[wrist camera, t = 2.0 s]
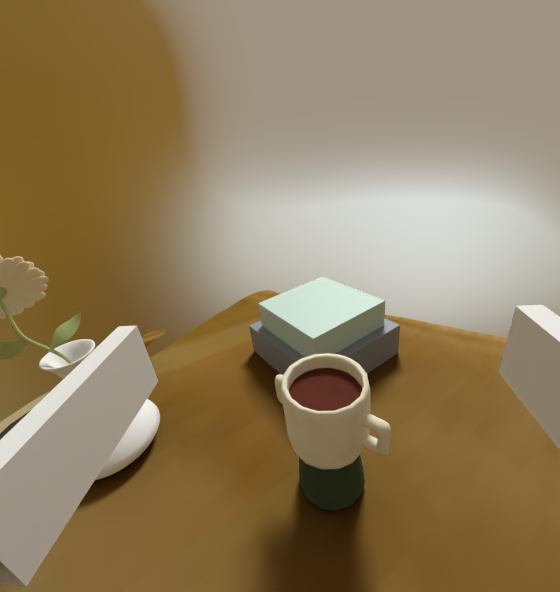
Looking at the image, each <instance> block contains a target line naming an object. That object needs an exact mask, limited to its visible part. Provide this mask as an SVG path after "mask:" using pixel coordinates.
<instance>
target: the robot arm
mask: <svg viewBox="0 0 560 592" xmlns="http://www.w3.org/2000/svg"><path fill="white" fill-rule="evenodd" d="M499 374H500V375H501V377H502V378H503V379H504V380H505V382H506V383H507V384H508V385H509V387H510V388H511V389H512V391H513V392H514V393H515V394H516V396H517V397H518V398H519V399H520V401H521V402H522V403H523V404H524V406H525V407H526V408H527V409H528V411H529V412H530V413H531V414H532V416H533V417H534V418H535V419H536V421H537V422H538V423H539V424H540V426H541V427H542V428H543V429H544V431H545V432H546V433H547V435H548V436H549V437H550V438H551V440H552V441H553V442H554V443H555V445H556V446H557V447H558V448H559V450H560V317H559V316H557V315H556V314H554V313H553V312H552V311H550V310H549V309H548V308H546V307H545V306H544V305H528V306H516V308H515V312H514V315H513V319H512V323H511V327H510V331H509V335H508V339H507V343H506V347H505V350H504V354H503V358H502V362H501V366H500V370H499ZM157 382H158V379H157V377H156V374H155V371H154V369H153V366H152V364H151V361H150V358H149V356H148V353H147V351H146V348H145V345H144V343H143V340H142V338H141V335H140V332H139V330H138V327H137V326H121V327H118V328H117V329H115V330H114V331H113V332H112V333H111V334H110V335H109V336H108V337H107V338H106V339H105V340H104V341H103V342H102V343H101V344H100V345H99V346H98V347H97V348H96V349H95V350H94V351H92V352H91V353H90V354H89V355H88V356H87V357H86V358H85V359H84V360H83V361H82V362H81V363H80V364H79V365H78V366H77V367H76V368H75V369H74V370H73V371H72V372H71V373H70V374H68V375H67V376H66V377H65V378H64V379H63V380H62V381H61V382H60V383H59V384H58V385H57V386H56V387H55V388H54V389H53V390H52V391H51V392H50V393H49V394H48V395H47V396H46V397H44V398H43V399H42V400H41V401H40V402H39V403H38V404H37V405H36V406H35V407H34V408H33V409H32V410H31V411H29V412H28V413H26V414H25V415H23V416H22V417H20V418H19V419H17V420H16V421H15V422H13V423H12V424H10V425H9V426H8V427H7V428H6V429H5V430H4V431H3V432H1V433H0V584H2V585H14V586H27V585H28V583H29V582H30V580H31V579H32V577H33V576H34V574H35V572H36V571H37V569H38V568H39V566H40V565H41V563H42V562H43V560H44V558H45V557H46V555H47V554H48V552H49V551H50V549H51V548H52V546H53V544H54V543H55V541H56V540H57V538H58V537H59V535H60V534H61V532H62V530H63V529H64V527H65V526H66V524H67V523H68V521H69V520H70V518H71V516H72V515H73V513H74V512H75V510H76V509H77V507H78V505H79V504H80V502H81V501H82V499H83V498H84V496H85V495H86V493H87V491H88V490H89V488H90V487H91V485H92V484H93V482H94V481H95V479H96V477H97V476H98V474H99V473H100V471H101V470H102V468H103V467H104V465H105V463H106V462H107V460H108V459H109V457H110V456H111V454H112V453H113V451H114V449H115V448H116V446H117V445H118V443H119V442H120V440H121V439H122V437H123V435H124V434H125V432H126V431H127V429H128V428H129V426H130V425H131V423H132V421H133V420H134V418H135V417H136V415H137V414H138V412H139V410H140V409H141V407H142V406H143V404H144V403H145V401H146V400H147V398H148V396H149V395H150V393H151V392H152V390H153V389H154V387H155V386H156V384H157Z"/></svg>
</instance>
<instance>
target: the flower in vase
mask: <svg viewBox="0 0 560 592" xmlns="http://www.w3.org/2000/svg"><path fill="white" fill-rule="evenodd" d="M47 281H48V277H46V276H44V272H43V271H40V270H39V269H38V268H34V264H33V263H32V262H24V259H23V258H22V257H14V258H12V259H11V258H6V259H4V260H3V258H2V257H1V256H0V318H5V317H7V318H8V320H9V322H10V323H11V325H12V327H13V329H14V330H15V332H16V333H17V334H18V336H20V338H22V339H23V340H24V341H23V340H19V341H9V342H0V360H3V359H8V358H13V357H17V356H19V355H21V354H22V353H23V352H24V350H25V349H26V347H27V342H28V343H30V344H32V345H35V346H37V347H39V348H41V349H44V350H46V351H49V353H48V354H46V355H45V356H44V357H43V358H42V359H41V361H40V363H39V366H40V368H41V369H43V370H47V371H50V372H53V373H55V374H57V375H58V376H60V377H62V378H63V379H64V378H65V377H66V376H67V375H68V374H70V373H71V372H72V371H73V370H74V369H75V368H76V367H77V366H78V365H79V364H80V363H81V362H82V361H83V360H84V359H85V358H86V357H87V356H88V355H89V354H90V353H91V352H92V351H93V350H94V347H95V343H94V341H92V340H88V339H82V340H76V341H72V342H69V343H66V344H63V343H65V342H66V341H68V340H69V339H70V338H71V337H72V336H73V335H74V333H75V332H76V330H77V329H78V326H79V323H80V316H81V315H80V312H79V313H78V314H77V315H76V316H75V317H73V318H72V319H71V320H69V321H67V322H65V323H64V324H62V325H61V326H59V327H58V328H57V329H56V331H55V333H54V335H53V338H52V341H51V347H50V348H49V347H47V346H44V345H41V344H39V343H37V342H34V341H32V340H30V339H29V338H27V337H25V336H24V335H23V334H22V333H21V332H20V330H19V329H18V327H17V326H16V324H15V322H14V320H13V319H12V317H11V315H13V314H19V313H21V312H23V308H29V307H32V306H33V305H34V302H36V301H38V300H40V299H42V298H44V297H45V295H46V294H45V293H44V292H42V291H44V290H46V288H47V285H45V283H46V282H47ZM61 344H63V345H61ZM59 345H61V346H59ZM57 346H59V347H57ZM52 347H57V348H55V349H52ZM159 423H160V413H159V410H158V408H157V406H156V405H155V404H154V403H152V402H151V401H150V400H148V399H147V400H146V401H145V403H144V404H143V406H142V407H141V409H140V410H139V412H138V414H137V415H136V417H135V418H134V420H133V421H132V423H131V425H130V426H129V428H128V429H127V431H126V432H125V434H124V435H123V437H122V439H121V440H120V442H119V443H118V445H117V446H116V448H115V449H114V451H113V453H112V454H111V456H110V457H109V459H108V460H107V462H106V463H105V465H104V467H103V468H102V470H101V471H100V473H99V474H98V476H97V477H96V479H95V480H98V479H101V478H105V477H107V476H110V475H112V474H114V473H116V472H118V471H120V470H121V469H123V468H125V467H126V466H128V465H129V464H130V463H132V462H133V461H134V460H135V459H137V458H138V457H139V456H140V455H141V454H142V453H143V452H144V451H145V450H146V448H147V447H148V446H149V445H150V443H151V442H152V440H153V438H154V436H155V434H156V432H157V429H158V427H159Z"/></svg>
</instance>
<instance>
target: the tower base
mask: <svg viewBox="0 0 560 592" xmlns="http://www.w3.org/2000/svg"><path fill="white" fill-rule="evenodd" d="M258 305H259V311H260V317H261V321H259V322H256V323H254V324H252V325H250V326H249V327H250V332H251V337H252V342H253V347H254V351H255V352H256V353H257V354H258V355H259V356H260V357H262V358H263V359H264V360H265V361H266V362H267V363H268V364H269V365H270V366H272V367H273V368H274V369H275V370H276V371H277V372H278V373H279V374H281V375H284V373H285V372H286V370H287V369H288V367H289V366H290V365H292V364H293V363H295V362H297V361H298V360H300V359H302V358H305V357H308V356H311V355H314V354H327V353H330V354H338V355H342V356H346V357H348V358H350V359H352V360H354V361H355V362H357V363H358V364H360V366H361V367H362V368H363V369H364V371H365V372H366V373H367V374H368V373H369V372H371V371H372V370H373V369H375V368H376V367H378V366H379V365H381V364H382V363H384V362H385V361H387V360H388V359H390V358H391V357H393V356H394V355H396V354H397V353H398V346H399V330H400V325H399V324H397V323H394V322H392V321H390V320H387V319H385V300H382V299H379V298H377V297H374V296H372V295H369V294H366V293H364V292H361V291H359V290H356V289H353V288H351V287H348V286H346V285H343V284H340V283H338V282H335V281H333V280H330V279H328V278H325V277H320V278H318V279H316V280H313V281H311V282H308V283H307V284H304V285H301V286H299V287H296V288H294V289H292V290H289V291H287V292H285V293H282V294H280V295H277V296H275V297H272V298H270V299H268V300H265V301H263V302H260V303H258Z"/></svg>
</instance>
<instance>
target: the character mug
mask: <svg viewBox="0 0 560 592" xmlns="http://www.w3.org/2000/svg"><path fill="white" fill-rule="evenodd" d="M275 387H276V393H277V398H278V400H279V401H280V402H281V403H282V404H283V408H284V414H285V420H286V427H287V433H288V437H289V439H290V442H291V444H292V447H293V449H294V452H295V453H296V454H297V455H298V456H299V474H300V486H301V488H302V490H303V492H304V494H305V496H306V498H307V499H308V500H309V501H310V502H312V503H313V504H314V505H316V506H317V507H319V508H320V509H325V510H333V511H338V510H340V509H343V508H346V507H348V506H351V505H352V504H353V503H354V502H355V501H356V500H357V499H358V498H359V496H360V495H361V494H362V490H363V487H364V483H365V480H364V472H363V466H362V462H361V457H360V454H361V453H362V451H363V450H364V449H365V448H367V449H369V450H371V451H373V452H375V453H377V454H379V455H382V456H385V455H387V454H388V453H389V451H390V435H391V429H390V426H389V424H388V423H387V422H385V421H384V420H382V419H380V418H378V417H375V416H373V415H371V414H370V386H369V381H368V377H367V373H366V372H365V371H364V369H363V368H362V367H361V366H360V364H358V363H357V362H355V361H354V360H352V359H350V358H348V357H346V356H342V355H338V354H330V353H327V354H314V355H311V356H308V357H305V358H302V359H300V360H298V361H297V362H295V363H293V364H292V365H290V366H289V367H288V369H287V370H286V372H285V373H284V375H281V374H279V375H276V378H275ZM370 429H371V430H373V431H375V432H377V434H378V436H377V439H376V438H374V437H372V436H370V435H369V434H370Z"/></svg>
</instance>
